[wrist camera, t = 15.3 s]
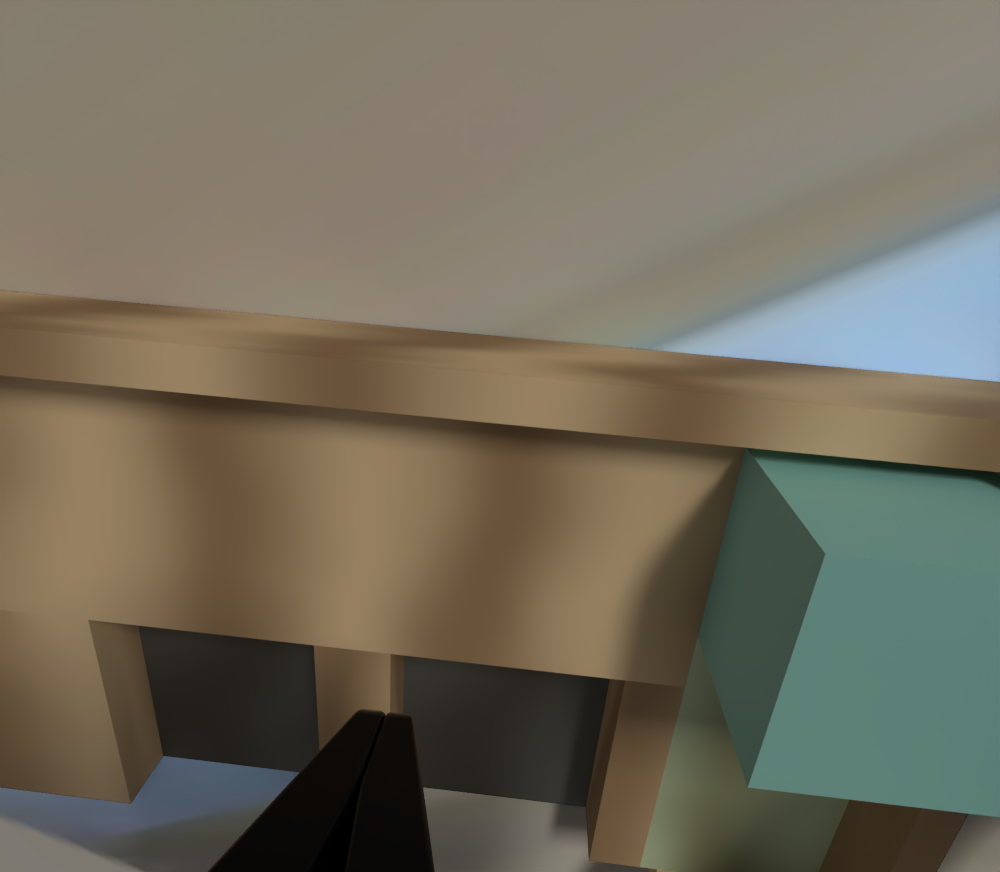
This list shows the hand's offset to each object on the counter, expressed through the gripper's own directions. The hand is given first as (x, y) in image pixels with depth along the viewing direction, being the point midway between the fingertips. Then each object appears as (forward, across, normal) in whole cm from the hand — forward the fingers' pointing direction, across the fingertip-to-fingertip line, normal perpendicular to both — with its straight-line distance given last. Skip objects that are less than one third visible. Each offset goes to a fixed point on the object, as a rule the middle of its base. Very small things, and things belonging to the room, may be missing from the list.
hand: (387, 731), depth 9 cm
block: (+5, -9, -1) cm, 10 cm away
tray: (+7, +2, +4) cm, 8 cm away
